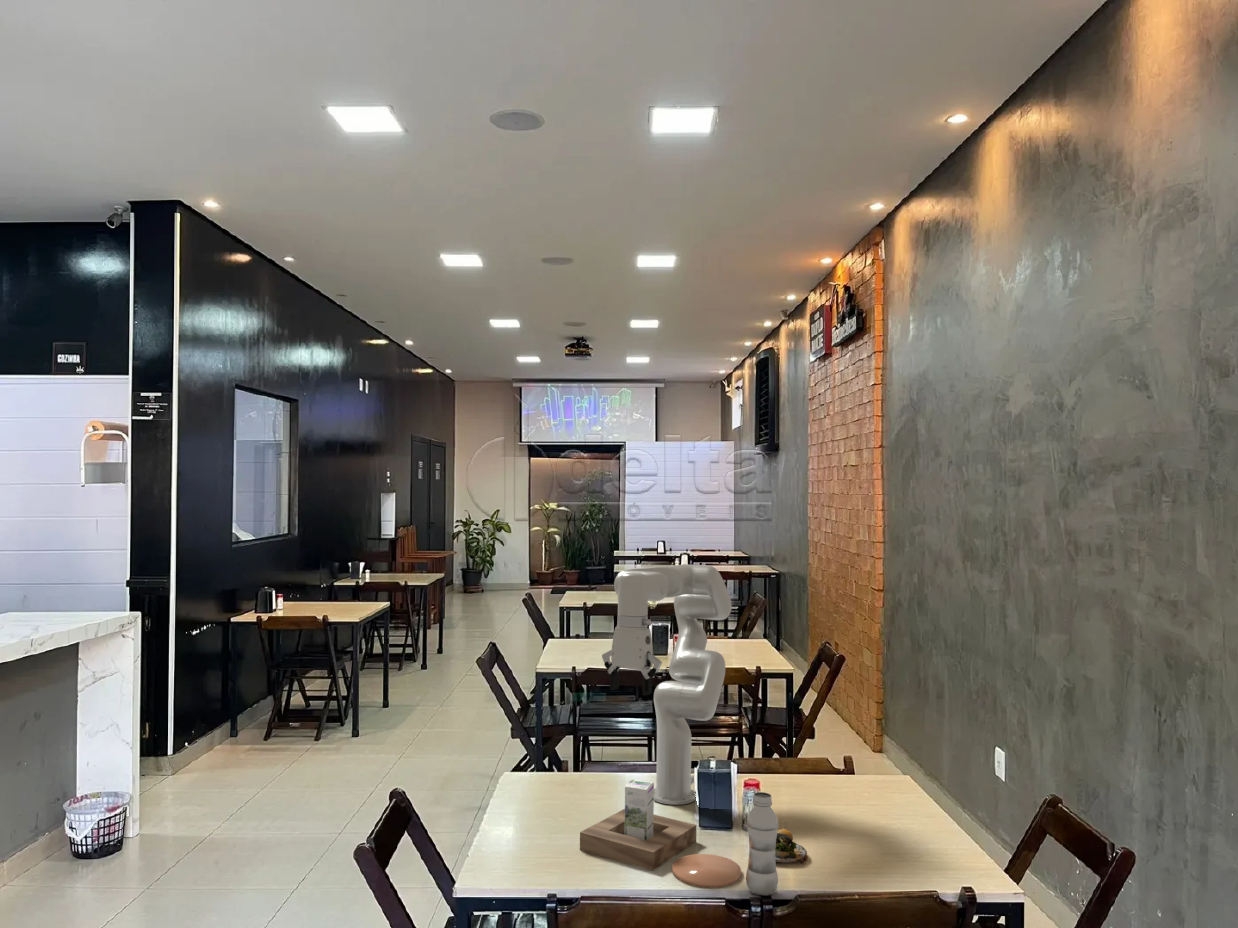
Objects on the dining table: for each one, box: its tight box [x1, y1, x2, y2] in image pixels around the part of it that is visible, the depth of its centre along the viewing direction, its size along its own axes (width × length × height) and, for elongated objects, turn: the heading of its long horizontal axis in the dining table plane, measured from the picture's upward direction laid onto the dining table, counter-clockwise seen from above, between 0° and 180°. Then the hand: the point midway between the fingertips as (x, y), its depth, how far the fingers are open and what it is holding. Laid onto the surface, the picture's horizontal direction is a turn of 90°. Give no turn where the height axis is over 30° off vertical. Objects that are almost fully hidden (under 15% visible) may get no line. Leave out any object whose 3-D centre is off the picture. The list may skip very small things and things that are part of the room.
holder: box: [579, 808, 697, 872], centre depth 202 cm, size 20×20×4 cm
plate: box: [671, 853, 742, 889], centre depth 187 cm, size 15×15×1 cm
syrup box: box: [624, 779, 655, 841], centre depth 202 cm, size 6×6×14 cm
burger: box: [775, 821, 808, 865], centre depth 197 cm, size 12×12×8 cm
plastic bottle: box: [745, 791, 780, 896], centre depth 178 cm, size 6×7×20 cm
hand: (630, 691), depth 212 cm, fingers open, 9 cm apart
